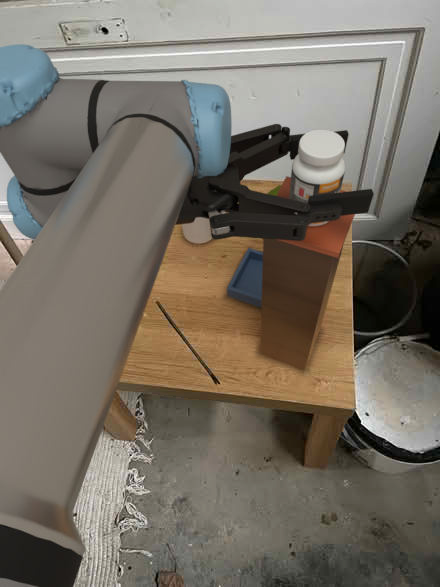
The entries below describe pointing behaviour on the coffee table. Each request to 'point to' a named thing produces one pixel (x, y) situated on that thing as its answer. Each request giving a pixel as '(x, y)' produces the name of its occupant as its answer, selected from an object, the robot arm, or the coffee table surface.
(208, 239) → the mug
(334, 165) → the pill bottle
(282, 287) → the stand
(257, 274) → the blue tray
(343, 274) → the coffee table surface
